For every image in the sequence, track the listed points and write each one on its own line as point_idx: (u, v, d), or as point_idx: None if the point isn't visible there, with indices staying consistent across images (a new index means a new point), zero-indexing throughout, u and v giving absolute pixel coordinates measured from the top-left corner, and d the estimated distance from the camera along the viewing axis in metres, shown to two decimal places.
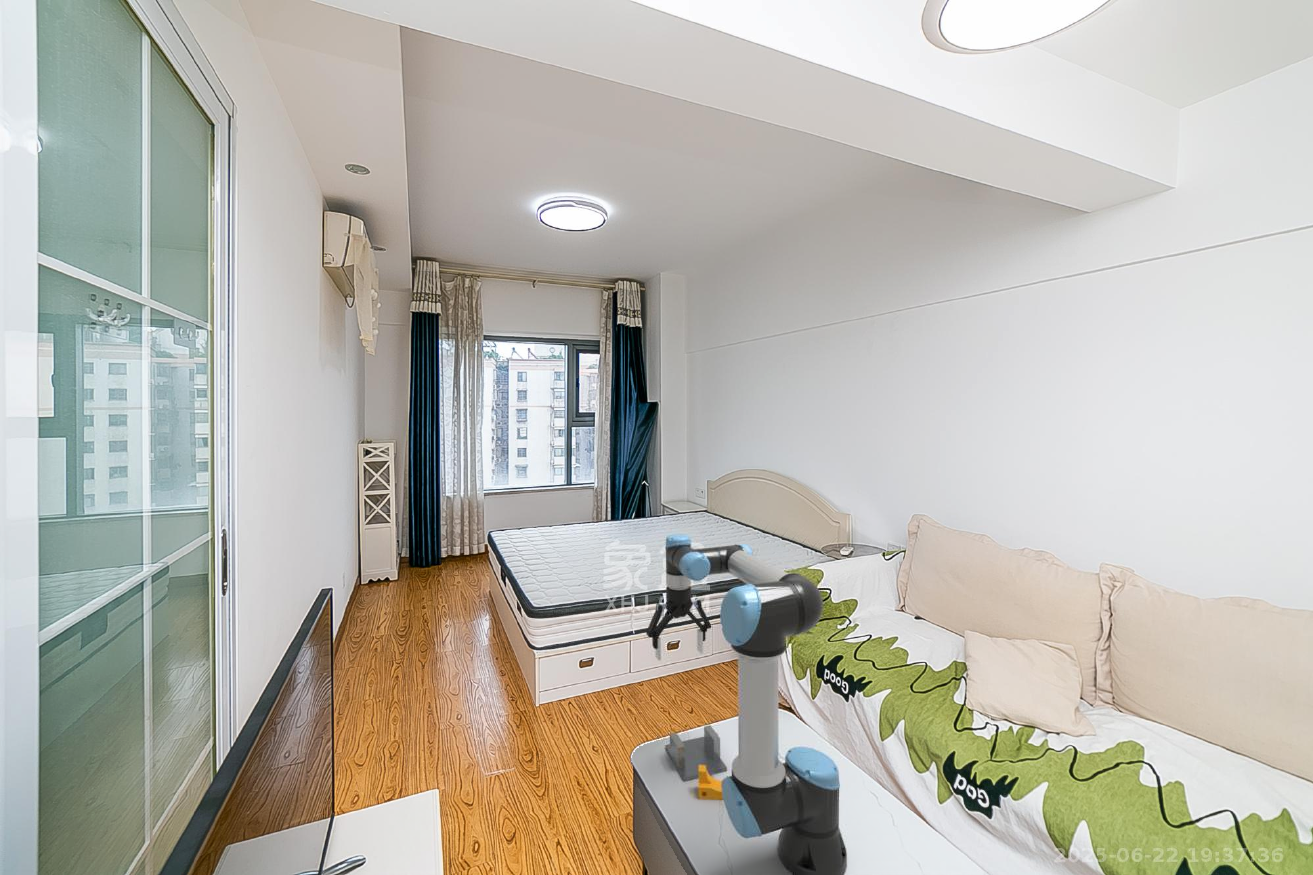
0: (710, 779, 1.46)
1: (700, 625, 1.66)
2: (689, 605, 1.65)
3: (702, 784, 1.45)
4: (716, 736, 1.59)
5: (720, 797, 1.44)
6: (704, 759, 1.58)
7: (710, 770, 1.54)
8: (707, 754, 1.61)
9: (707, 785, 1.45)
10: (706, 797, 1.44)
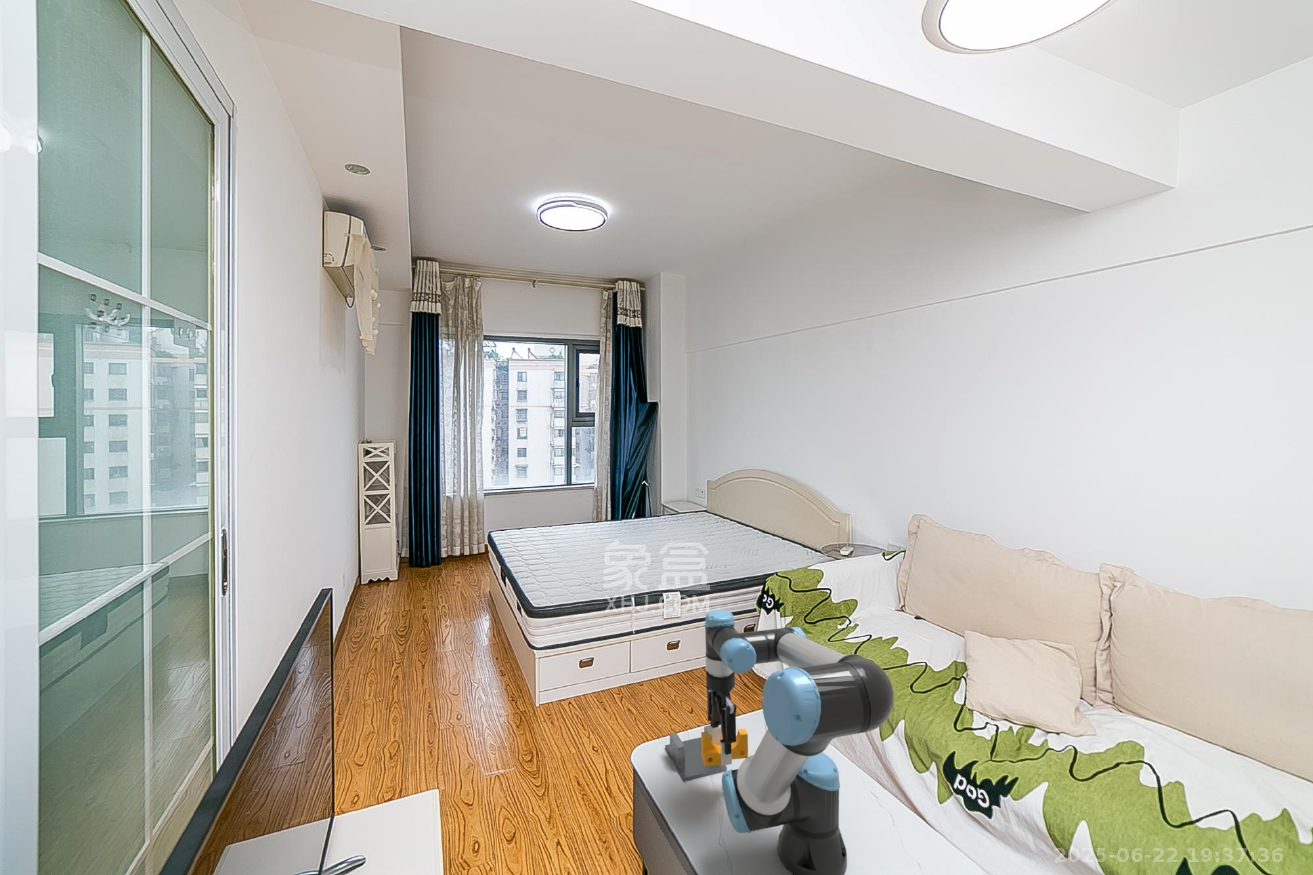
0: (713, 745, 1.45)
1: (722, 731, 1.41)
2: (721, 699, 1.41)
3: (707, 750, 1.43)
4: None
5: None
6: None
7: (710, 770, 1.54)
8: None
9: (712, 750, 1.43)
10: (712, 763, 1.42)
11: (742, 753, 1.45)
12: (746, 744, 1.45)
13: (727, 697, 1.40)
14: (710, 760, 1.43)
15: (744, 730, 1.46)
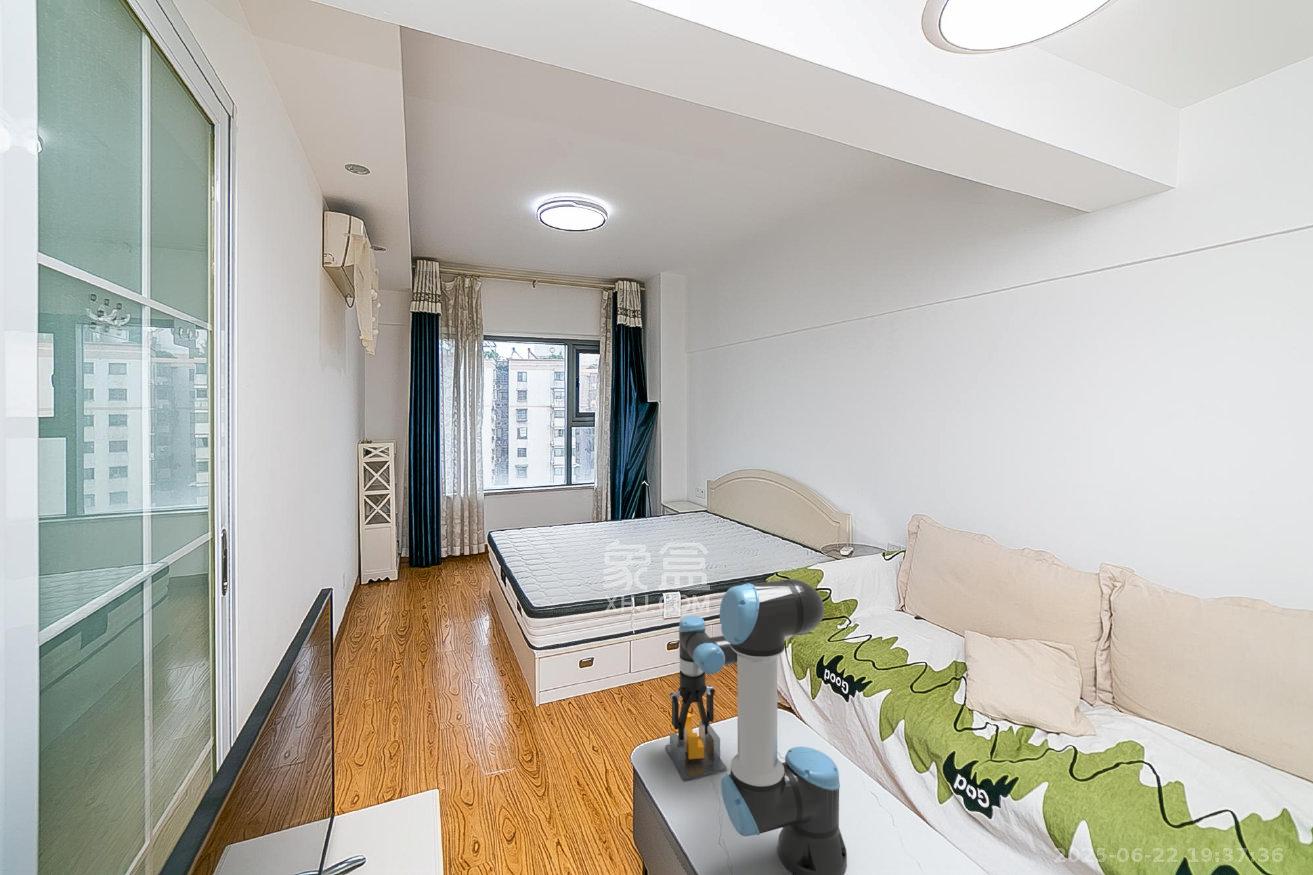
0: None
1: (704, 717, 1.61)
2: (703, 690, 1.60)
3: (698, 745, 1.57)
4: (716, 736, 1.59)
5: None
6: (704, 759, 1.58)
7: (710, 770, 1.54)
8: (707, 754, 1.61)
9: (698, 742, 1.59)
10: None
11: None
12: None
13: None
14: None
15: None
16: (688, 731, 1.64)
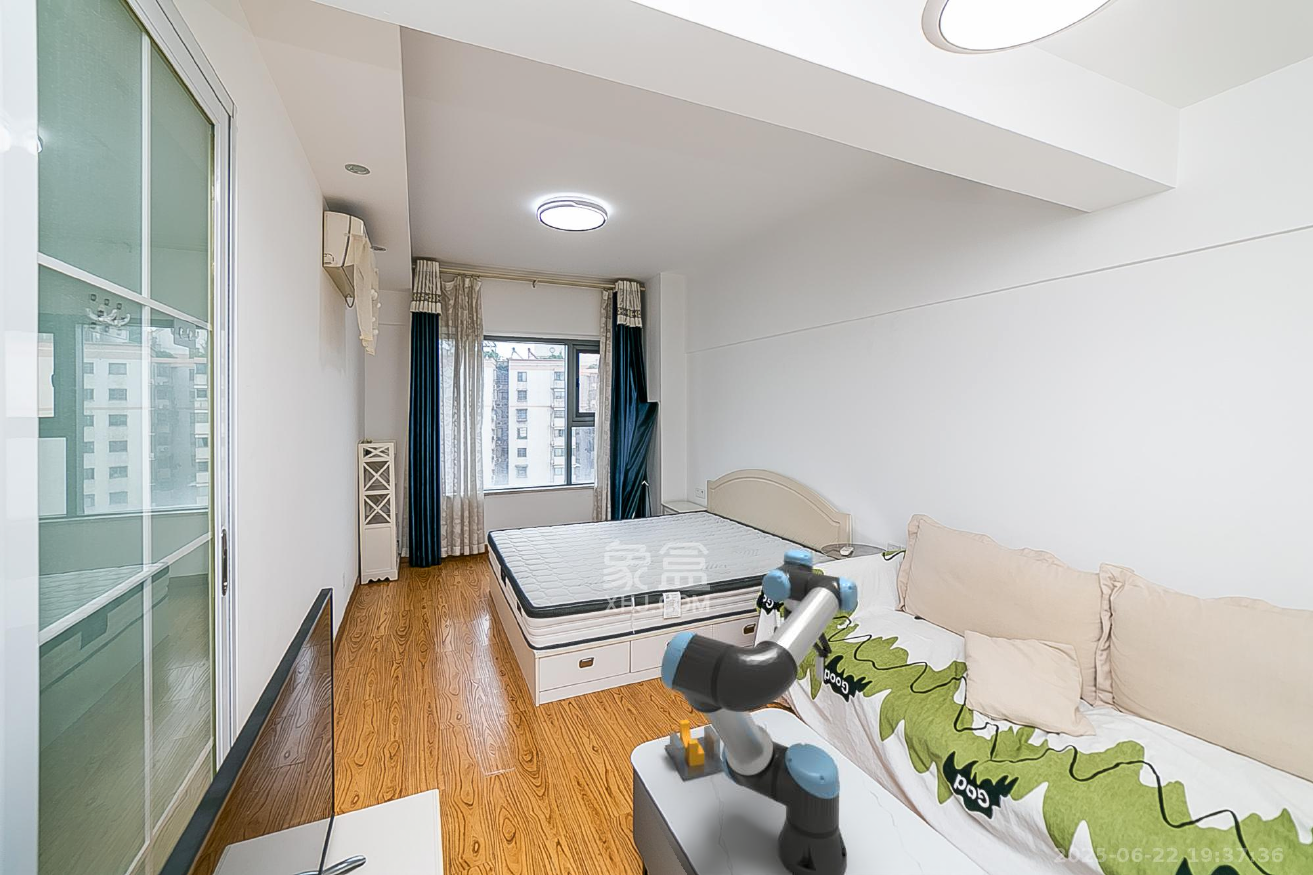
0: None
1: (821, 650, 1.51)
2: None
3: (699, 751, 1.57)
4: (716, 736, 1.59)
5: None
6: (704, 759, 1.58)
7: (710, 770, 1.54)
8: (707, 754, 1.61)
9: (698, 748, 1.58)
10: None
11: None
12: None
13: None
14: None
15: (682, 720, 1.67)
16: (687, 737, 1.64)
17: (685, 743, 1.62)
